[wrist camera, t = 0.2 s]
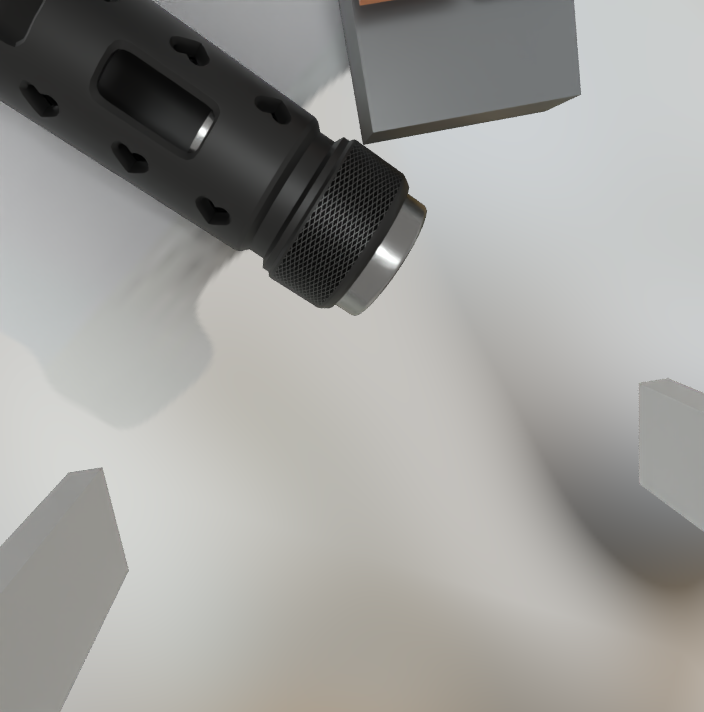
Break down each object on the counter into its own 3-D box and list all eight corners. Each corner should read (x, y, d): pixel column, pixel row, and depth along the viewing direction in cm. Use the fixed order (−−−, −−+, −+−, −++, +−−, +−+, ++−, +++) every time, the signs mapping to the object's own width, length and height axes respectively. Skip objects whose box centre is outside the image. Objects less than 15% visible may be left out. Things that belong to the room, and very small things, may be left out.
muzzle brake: (39, -65, 33) (-72, -191, 23) (413, 200, 39) (453, 191, 29) (-32, 76, 35) (-165, 14, 25) (340, 312, 40) (355, 341, 30)
